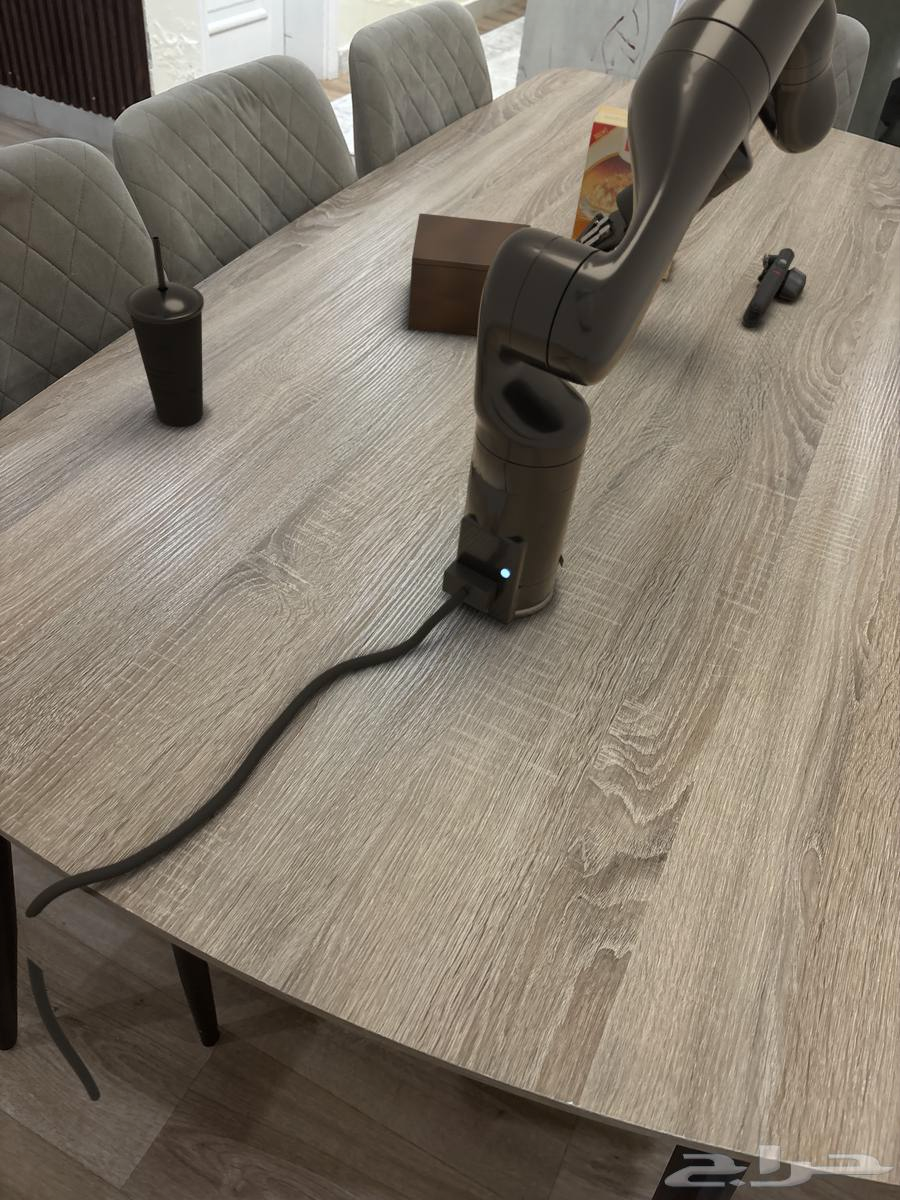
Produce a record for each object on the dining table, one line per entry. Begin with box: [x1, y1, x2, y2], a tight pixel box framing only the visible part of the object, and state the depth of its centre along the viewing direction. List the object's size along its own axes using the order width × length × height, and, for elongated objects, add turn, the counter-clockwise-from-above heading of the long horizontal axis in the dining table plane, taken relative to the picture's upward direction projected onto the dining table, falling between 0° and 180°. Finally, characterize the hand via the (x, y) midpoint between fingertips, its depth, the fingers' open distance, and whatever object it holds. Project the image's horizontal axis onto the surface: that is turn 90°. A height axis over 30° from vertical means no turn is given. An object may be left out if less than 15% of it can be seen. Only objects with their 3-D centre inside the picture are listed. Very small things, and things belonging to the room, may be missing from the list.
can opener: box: [742, 247, 807, 327], centre depth 131 cm, size 18×7×6 cm, turn 149°
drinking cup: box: [123, 236, 205, 428], centre depth 96 cm, size 8×8×20 cm
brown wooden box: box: [407, 212, 532, 337], centre depth 121 cm, size 15×13×10 cm
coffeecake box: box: [570, 105, 674, 281], centre depth 132 cm, size 15×7×20 cm, turn 76°
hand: (548, 284), depth 122 cm, fingers closed
